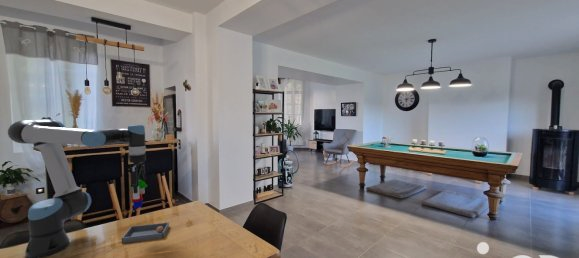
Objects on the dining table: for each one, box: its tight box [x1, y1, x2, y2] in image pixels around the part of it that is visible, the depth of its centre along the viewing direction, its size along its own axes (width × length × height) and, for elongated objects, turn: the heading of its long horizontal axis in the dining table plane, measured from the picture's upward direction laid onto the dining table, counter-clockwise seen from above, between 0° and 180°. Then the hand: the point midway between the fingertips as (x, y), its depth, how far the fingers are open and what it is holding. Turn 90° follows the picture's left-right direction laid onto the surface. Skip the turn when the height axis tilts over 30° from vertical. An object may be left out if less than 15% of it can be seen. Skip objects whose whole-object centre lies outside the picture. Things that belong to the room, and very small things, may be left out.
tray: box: [121, 222, 170, 244], centre depth 131 cm, size 19×13×3 cm
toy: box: [129, 180, 148, 210], centre depth 129 cm, size 8×8×15 cm
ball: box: [156, 226, 164, 233], centre depth 133 cm, size 4×4×4 cm
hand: (139, 196), depth 129 cm, fingers closed on toy, 8 cm apart
